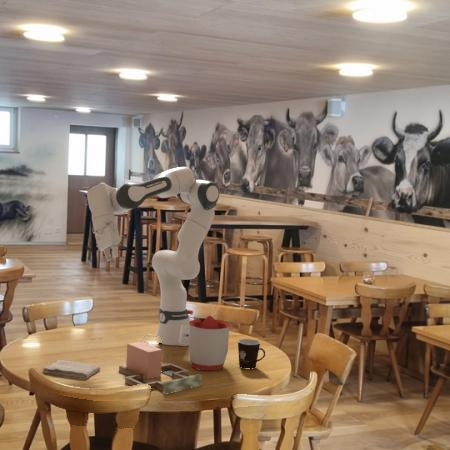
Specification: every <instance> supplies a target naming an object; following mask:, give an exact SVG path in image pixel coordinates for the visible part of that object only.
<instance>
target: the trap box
mask: <svg viewBox="0 0 450 450" xmlns="http://www.w3.org/2000/svg"><path fill="white" fill-rule="evenodd" d="M161 371H162V373H161V374H163V373H164V374H163V375H166V374H167V375H166V376H168V375H169V377H170V376H171V378H172V380H167V381H161V380H160V381H159V380H156V381H150V382H147V381H145V380H144V378H143V374H140V373H138V372H136V371H133V370H131V369H129V368H127V367H126V366H124V365H119V366H118V372H120V373H122V374H124V375H126V377H125V378H124V383H125V384H126V385H128V386H131V385H137V384H148V385H150V386H151V388H155V389H157V388H159V389H161V390H160V391H162V390H163V391H162V394H163V393H164V394H167V393H171V392H175V391H179V392H181V391H180V390H183V391H185V390H184V389H187V390H189V389H188V388H191V387H195V388H197V387H196V386H199V387H201V386H202V374H200V373H198V374H194V375H193V374H192V375H189V372H190V370H189V369H187V368H183V367H181V366H179V365H176V364H174V363H166V364H161ZM188 375H189V376H188ZM173 378H174V379H173ZM200 385H201V386H200ZM159 389H158V390H159ZM191 389H192V388H191ZM175 393H176V392H175ZM164 394H163V395H164ZM171 394H172V393H171ZM167 395H168V394H167Z"/></svg>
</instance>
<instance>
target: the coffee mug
mask: <svg viewBox="0 0 450 450" xmlns="http://www.w3.org/2000/svg"><path fill="white" fill-rule="evenodd" d="M260 346H261V341H259V340H257V339H255V338H254V339H253V338H241V339H238V340H237V348H238V349H237V350H238V351H237V353H238V364H239V365H238V366H240V367H242V368H250V369H251V370H253V369H252V368H255V367H256V368H257V363H258V362H259V361H262V360H263V359H264V358H265V357H266V351H265V349H263V347H260ZM259 351H262V353H263V356H262V357H261V358H259V359H258V357H259ZM240 367H239V368H240ZM242 368H241V369H242ZM256 368H255V369H256Z"/></svg>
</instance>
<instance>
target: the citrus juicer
mask: <svg viewBox="0 0 450 450" xmlns="http://www.w3.org/2000/svg"><path fill="white" fill-rule="evenodd" d="M191 320H192V321H190V322H189V324H190V331H189V345H188V353H189V358H190V360H189V361H190V363H191V366H192V367H193V368H195V369H196V370H198V369H200V370H199V371H219V370H221V369H222V368H223V367H224V365H225V362H226V358H227V355H228V350H229V338H230V336H229V335H230V326H231V323H229V322H228V321H224V320H221V319H216V318H214V317H213V316H212V315H208V316H206V318H205V319H204V320H203V321H202V320H201V319H200V318H199V319H191Z"/></svg>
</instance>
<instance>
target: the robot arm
mask: <svg viewBox="0 0 450 450" xmlns="http://www.w3.org/2000/svg"><path fill="white" fill-rule="evenodd" d="M86 195H87V196H86V197H87V203H88V208H89V210H90V212H91V221H92V228H91V230H92V234H94V237H95V241H96V244H97V248H98V249H99V252H103V254H104V256H105V258H106V261H107V262H109V261H112V260H113V259H114V258H118V257H119V246H118V245H119V244H120V243H121V237H120V233H119V229H118V225H117V221H116V220H117V219H116V216H115V215H122V214H125V213H127V212H129V211H132V210H133V209H136V208H139V207H140V206H141V205H142V204H143V203H144V202H145V201H146V199H150V198H151V197H155V196H157V197H159V198H161V199H166V198H167V199H168V198H170V197H174V196H176V197H177V199H178V200H179V201H180V202H182V203H183V204H187V205H191V209H190V212H189V214H188V215H187V216H186V219H185V221H184V222H183V223H182V225H181V228H180V229H179V231H178V233H177V240H178V247H177V249H176V251H173V250H170V249H163V250H162V249H161V250H158V251H156V252H155V253H154V254H153V255H152V259H151V267H152V268H153V270H154V271H155V272H156V276H157V279H158V282H159V289H160V306H159V310H158V319H159V320H158V321H159V322H158V325H157V326H158V328H157V332H156V336H160V338H161V340H162V344H161V345H165V346H181V347H187V346H189V331H190V324H189V322H190V321H192V320H193V319H191V318H190V317H189V316H190V315H191V316H192V315H193V314H194V312H195V311H194V310H192V309H188V308H187V297H188V295H187V294H188V293H187V290H186V287H184V285H183V282H182V280H183V281H185V280H186V281H187V280H193V279H195V278H197V276H198V275H199V273H200V271H201V270H200V269H201V264H200V263H201V262H199V253H200V252H199V251H200V249H201V246H202V244H203V242H204V239H206V236H207V234H208V232H209V231H210V228H211V226H212V224H213V221H214V218H215V214H216V213H215V212H216V211H215V210H214V208H215V207H216V205H217V203H218V200H219V198H220V188H219V186H218V184H217V183H215V182H213V181H211V180H204V179H196V176H195V173H194V171H193V170H192V169H191V168H189V167H187V166H178V167H174V168H170V169H166V170H163V171H162V172H160V173H158V174H156V175H154V177H152V179H151V180H147V181H145V182H141V183H139V182H126V183H124V184H123V185H122V186H120V187H118V188H117V187H112V186H110V185H108V184H106V182H103V181H102V182H97V183H95V184H94V185H91V186H90V187H88V189H87V191H86ZM110 250H111V251H112V255H111V251H110ZM156 336H155V337H156Z"/></svg>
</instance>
